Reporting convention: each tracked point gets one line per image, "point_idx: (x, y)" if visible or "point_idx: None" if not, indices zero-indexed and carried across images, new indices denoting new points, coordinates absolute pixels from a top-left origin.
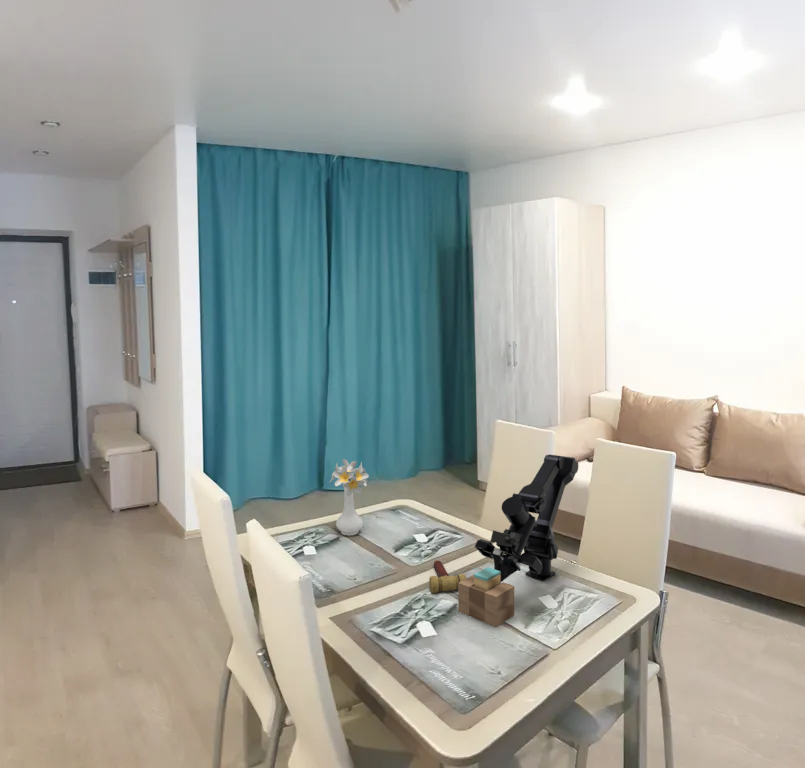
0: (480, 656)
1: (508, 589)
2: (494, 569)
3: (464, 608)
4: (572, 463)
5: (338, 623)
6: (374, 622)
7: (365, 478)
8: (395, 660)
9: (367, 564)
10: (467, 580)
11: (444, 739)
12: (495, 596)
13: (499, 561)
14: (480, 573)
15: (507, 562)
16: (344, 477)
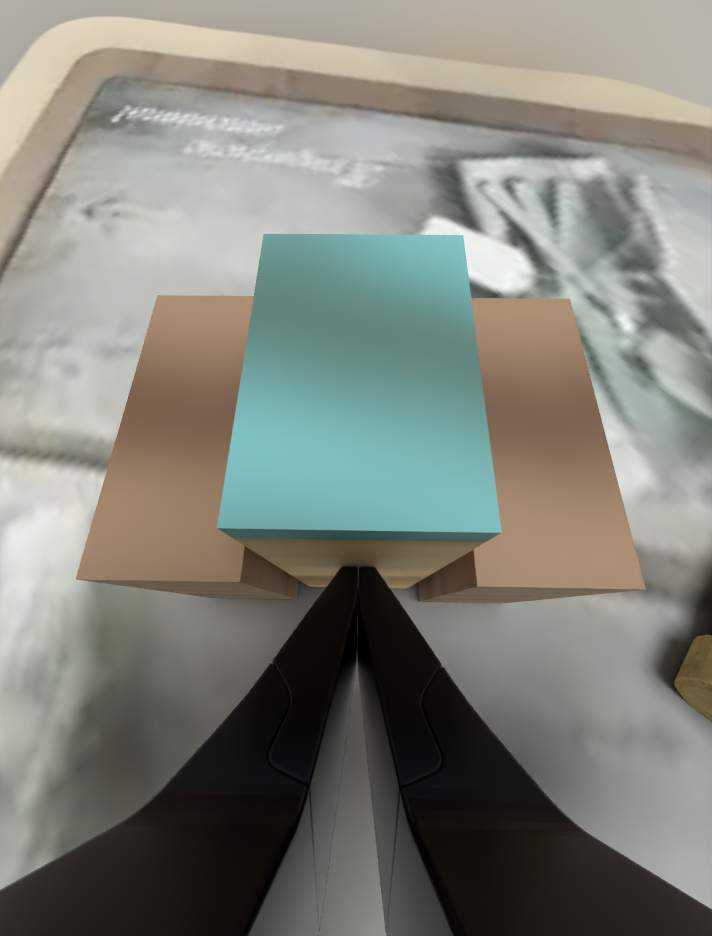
0: (187, 239)
1: (111, 466)
2: (346, 520)
3: None
4: None
5: (703, 131)
6: (637, 187)
7: None
8: (395, 111)
9: None
10: (553, 374)
11: (111, 28)
12: (165, 297)
13: (423, 879)
14: (419, 289)
15: (71, 877)
16: None
